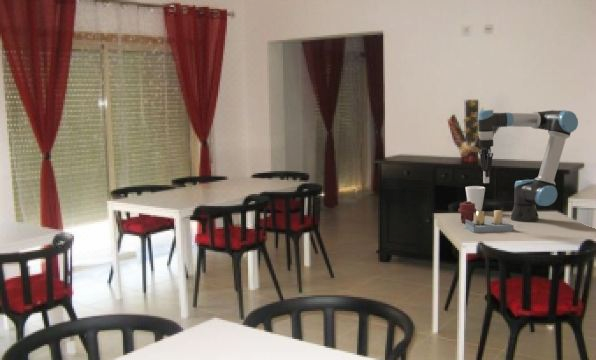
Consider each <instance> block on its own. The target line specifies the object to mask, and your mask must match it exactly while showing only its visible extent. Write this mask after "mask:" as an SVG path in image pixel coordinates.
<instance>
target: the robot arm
mask: <svg viewBox="0 0 596 360" xmlns="http://www.w3.org/2000/svg"><path fill="white" fill-rule="evenodd" d="M578 120H579V119H578V117H577V114H575V112H574V111H570V110H565V109H564V110H554V109H552V110H544V111H533V112H532V113H528V112H527V113H526V112H525V113H523V112H521V113H520V112H515V113H514V112H494V110H492V109H485V110H483V109H482V110H479V112H478V116H477V122H478V133H477V136H478V147H480V148H481V149H480V150H479V151H478V153H479V160H480V168H481V170H482V171H483V173H482V175H483V176H482V177H483V181H482V183H483V184H490V171H491V170H492V163H493V157H494V153H493V152H492V148H491V147H494V128H504V127H505V128H507V127H515V128H516V127H518V128H519V127H520V128H521V127H522V128H525V127H527V128H528V127H529V128H532V129H536V130H537V129H538V130H544V131H547V133H548V135H549V138H548V141H547V144H546V147H545V152H544V154H543V158H542V161H541V165H540V169H539V173H538V176H537V177H535V178H534V179H523V180H516V181H515V183H514V198H513V199H514V201H513V202H514V204H513V205H514V206H513V208H512V211H511V214H510V220H512V221H516V222H525V223H526V222H527V223H528V222H529V223H530V222H536V221H539V213H538V210H537V207H536V205H537V206H541V207H547V206H550V205H552V204H554V203H555V202H556V201H557V198H558V190H557V188H556V185H557V184H556V182H555V178H556V174H557V171H558V169H559V168H558V167H559V164H560V162H561V161H560V160H561V157H562V154H563V151H564V146H565V143H566V140H567V139H569V138H570V137H571V133H573V132H575V131H576V130H577V128H578V125H579V121H578Z"/></svg>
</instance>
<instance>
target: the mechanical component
mask: <svg viewBox="0 0 596 360" xmlns="http://www.w3.org/2000/svg"><path fill="white" fill-rule="evenodd" d="M457 210H458V211H457V212H459V213H460V221H461V223H462V224H465V220H466V219H467V220H469V221H471V222H473V221H474V218H475V217H474V215H475V214H474V213H476V209H475V204H474V203H471V202H470V201H467V200H466V201H463V202H460V203H459V208H458V209H457Z"/></svg>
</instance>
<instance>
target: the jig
mask: <svg viewBox="0 0 596 360" xmlns="http://www.w3.org/2000/svg"><path fill="white" fill-rule="evenodd" d="M464 224H465V227H464V228H465V229H466V230H468V231H469V232H472V233H475V234H478V233H498V232H500V233H501V231H502V232H514V225H513V224H512V223H509V222H507V221H504V220H503V210H500V209H499V210H498V209H497V210H495V209H494V210H493V221H484V225H483V226H477V225H476V221H475V222H473V221H472V222H471V221H469V220H467V219H466V220H465V223H464Z"/></svg>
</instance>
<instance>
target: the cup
mask: <svg viewBox="0 0 596 360" xmlns="http://www.w3.org/2000/svg"><path fill="white" fill-rule="evenodd" d="M485 192H486V187H484V186H480V185H472V186H471V185H469V186H465V193H466V194H465V195H466V201H470V202H471V203H474V204H475V209H476V211H482V210H483V205H484V204H483V203H484V199H485ZM474 215H476V213H474Z"/></svg>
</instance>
